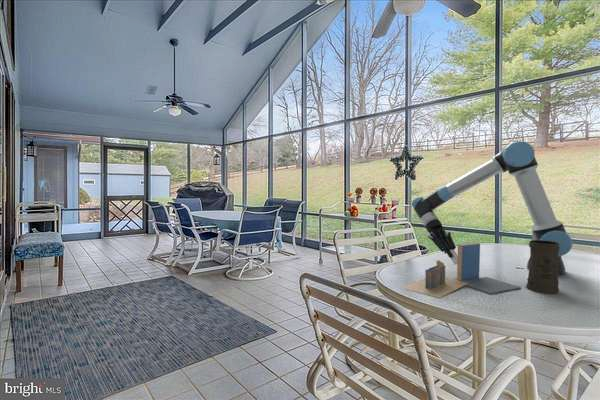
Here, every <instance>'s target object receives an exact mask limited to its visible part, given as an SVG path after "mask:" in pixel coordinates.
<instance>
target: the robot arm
mask: <svg viewBox="0 0 600 400" xmlns="http://www.w3.org/2000/svg"><path fill="white" fill-rule="evenodd" d="M538 166H539V163H538V162H537V159H536V156H535V149H534V147H533V145H531V144H530V143H528V142H527V141H522V140H517V141H512V142H511V143H508V144H507V145H506V146H505V147H504V148H503V149H502V150H501V151H499V153H497V154H496V155H494V156H492V157H491V159H490V160H489V161H487V162H485V163H484V164H482V165H480V166H478V167H476V168H474V169H473V170H471V171H469V172H466V174H463V175H462V176H460V177H458V178H457V179H455V180H453V181H452V182H449V183H448V184H446V185H442V186H440V187H439V188H437V189H436V190H435V191H433V192H432V193H430V194H429V195H427V196H426V197H423V196H417V197H415V198H414V199H413V200H412V202H411V207H412V209H413V211H414V213H416V215H417V217H418V219H420V221H421V222H422V224H423V225H424V227H425V229H426V231H427V232H428V233H429V235H428V237H427V238H428V239H430V240H431V242H433V243H434V245H435V246H436V247H437V248H438V249H439V250H440V252H442V253H443V252H444V254H445V255H447V256H448V257H449V258H450V260H451V261H452V263H453V264H454V265H456V266H457V258H458V253H456V251H455V249H457V247H456V244H455V242H454V240H453V238H452V237H453V236H452V235H451V234H452V232H450V231H446V230H445V229H444V228H443V224H442V222H441V220H440V219H439V218H438V216H437V214H436V213H435V211H434V210H436V209H438V208H439V207H440V206H441V205H443V204H445V203H446V202H448V201H450V200H451V199H453V198H455V197H456V196H459V195H461V194H462V193H464V192H466V191H468V190H470V189H472V188H473V187H475V186H477V185H480V184H481V183H483V182H485V181H487V180H489V179H491V178H492V177H494V176H497V175H498V174H501V173H503V174H504V173H505V172H508V174H509V175H510V176H513V177H514V179H515V182H516V183H517V186H518V189H519V192H520V193H521V195H522V199H523V200H524V203H525V206H526V208H527V211H528V213H529V215H530V218H531V220H532V223H533V225H532V228H531V230H532V236H531V237H532V238H531V241H532V240H543V241H552V242H557V243H559V247H560V248H559V252H558V275H563V274H566V266H565V263H564V261H563V259H562V256H565V255H566V254H568V253H569V252H570V251H571V250H572V247H573V240H572V237H571V236H570V235H569V234H568V233H567V231H566V228H565V226H564V223H563V222H562V221H560V220H558V219H557V218H556V215H555V212H554V210H553V208H552V205H551V204H550V201H549V199H548V196H547V194H546V192H545V189H544V186H543V184H542V181H541V179H540V177H539V175H538V172H537V168H538ZM529 263H530V257H529V258H528V261H527V263H526V269H527V270H529Z"/></svg>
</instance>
